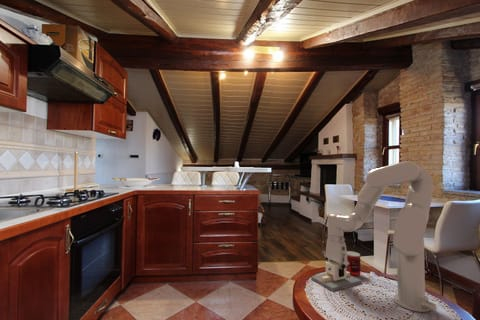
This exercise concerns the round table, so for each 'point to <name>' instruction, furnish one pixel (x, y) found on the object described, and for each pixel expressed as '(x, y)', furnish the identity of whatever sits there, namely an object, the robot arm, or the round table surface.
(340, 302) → the round table surface
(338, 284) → the mount board
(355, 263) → the canned food
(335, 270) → the cabinet block
